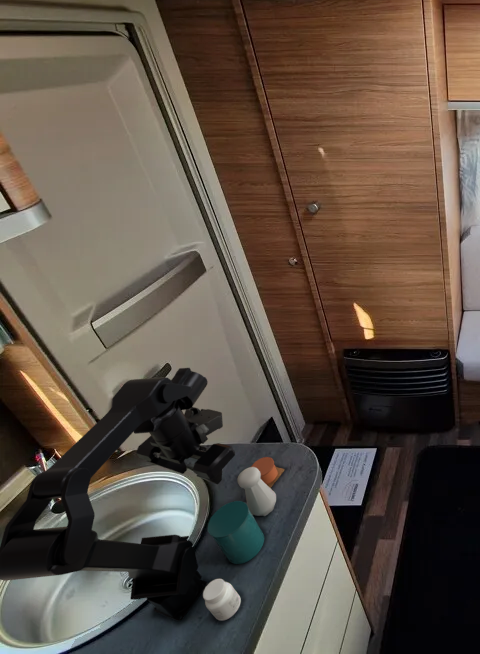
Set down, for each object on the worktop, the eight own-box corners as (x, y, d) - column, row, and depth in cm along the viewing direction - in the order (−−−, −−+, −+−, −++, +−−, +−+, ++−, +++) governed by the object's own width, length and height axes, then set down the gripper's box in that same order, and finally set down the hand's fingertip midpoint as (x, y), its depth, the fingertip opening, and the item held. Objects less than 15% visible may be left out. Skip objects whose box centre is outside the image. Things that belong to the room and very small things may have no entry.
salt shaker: (271, 520, 93) (253, 487, 87) (246, 520, 94) (226, 487, 87) (283, 495, 98) (266, 462, 92) (259, 495, 98) (241, 461, 92)
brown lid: (268, 488, 99) (263, 478, 97) (250, 483, 101) (244, 473, 99) (283, 469, 104) (278, 459, 102) (265, 464, 105) (260, 454, 103)
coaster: (268, 490, 99) (268, 489, 99) (249, 485, 101) (248, 484, 100) (284, 470, 104) (284, 469, 104) (266, 464, 105) (265, 463, 105)
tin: (247, 569, 85) (228, 541, 79) (219, 559, 87) (198, 531, 81) (272, 533, 91) (256, 505, 85) (245, 525, 93) (227, 497, 87)
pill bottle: (237, 588, 82) (223, 569, 78) (244, 607, 80) (230, 589, 76) (212, 607, 80) (196, 588, 76) (218, 627, 77) (203, 609, 73)
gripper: (242, 407, 85) (265, 454, 93) (170, 389, 89) (198, 436, 97) (195, 453, 76) (225, 501, 84) (118, 431, 80) (154, 479, 88)
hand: (201, 476), depth 89 cm, fingers open, 9 cm apart
